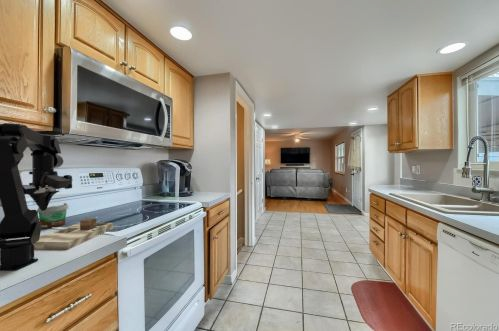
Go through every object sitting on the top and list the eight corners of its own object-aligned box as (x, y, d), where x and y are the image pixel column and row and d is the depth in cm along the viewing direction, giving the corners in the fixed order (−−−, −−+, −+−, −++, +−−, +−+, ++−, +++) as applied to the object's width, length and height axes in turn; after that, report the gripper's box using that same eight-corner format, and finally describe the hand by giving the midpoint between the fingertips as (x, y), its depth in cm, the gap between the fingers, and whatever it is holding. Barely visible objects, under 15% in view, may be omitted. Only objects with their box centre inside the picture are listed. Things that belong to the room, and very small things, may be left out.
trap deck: (68, 249, 76) (68, 240, 75) (24, 248, 76) (24, 240, 76) (113, 228, 99) (113, 222, 99) (79, 227, 100) (79, 221, 100)
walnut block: (89, 230, 89) (89, 220, 89) (80, 230, 89) (80, 220, 89) (96, 227, 93) (96, 218, 93) (87, 227, 93) (87, 218, 93)
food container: (47, 230, 95) (47, 208, 95) (36, 229, 97) (36, 207, 97) (74, 223, 108) (74, 203, 107) (65, 222, 109) (65, 202, 109)
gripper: (37, 169, 69) (37, 217, 69) (84, 168, 88) (84, 205, 88) (5, 169, 70) (5, 216, 70) (59, 168, 88) (59, 205, 88)
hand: (43, 210), depth 79 cm, fingers closed
